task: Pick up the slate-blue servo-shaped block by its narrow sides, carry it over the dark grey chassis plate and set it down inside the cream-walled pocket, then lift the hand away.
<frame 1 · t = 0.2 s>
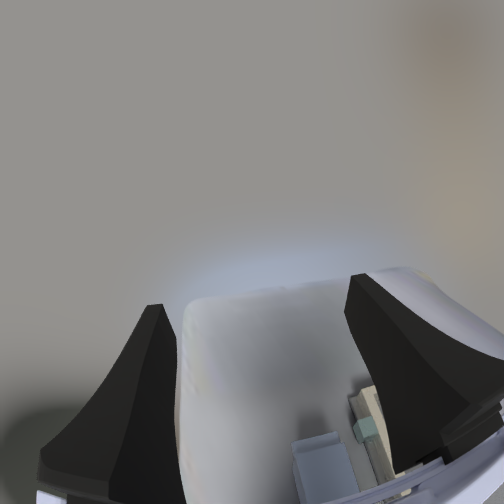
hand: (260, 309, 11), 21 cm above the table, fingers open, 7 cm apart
chassis: (416, 440, 21), on the table
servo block: (320, 493, 19), on the table
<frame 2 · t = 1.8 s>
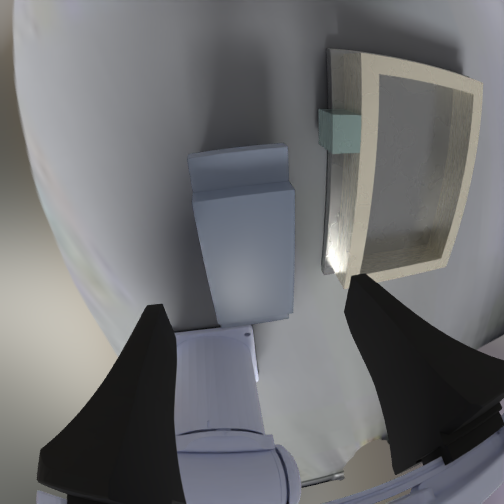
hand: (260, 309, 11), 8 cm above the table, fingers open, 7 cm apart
chassis: (401, 169, 17), on the table
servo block: (239, 211, 17), on the table
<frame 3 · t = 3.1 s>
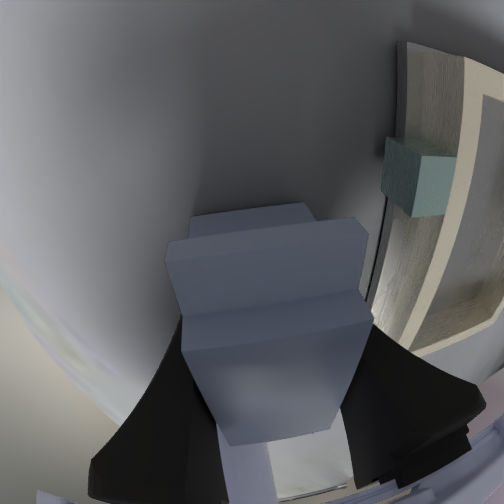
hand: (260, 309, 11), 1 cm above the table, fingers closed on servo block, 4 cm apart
chassis: (467, 217, 11), on the table
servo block: (255, 285, 12), on the table, touching gripper
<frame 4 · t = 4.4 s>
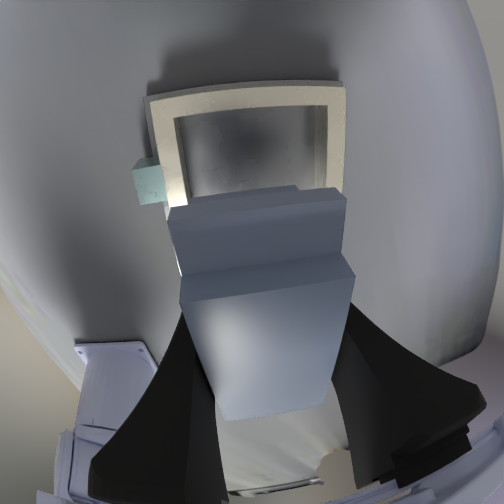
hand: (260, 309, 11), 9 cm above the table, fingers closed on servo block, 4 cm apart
chassis: (253, 201, 18), on the table
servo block: (250, 264, 13), point 6 cm above the table, touching gripper
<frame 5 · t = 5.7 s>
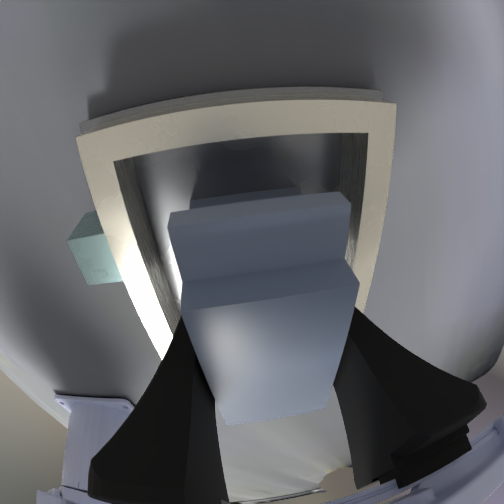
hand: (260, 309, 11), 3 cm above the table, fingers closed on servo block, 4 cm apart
chassis: (250, 263, 13), on the table
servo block: (251, 267, 13), point 1 cm above the table, touching chassis, gripper
when the fingers open (3 cm above the table, at t = 6.1 s): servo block stays where it is, resting on chassis.
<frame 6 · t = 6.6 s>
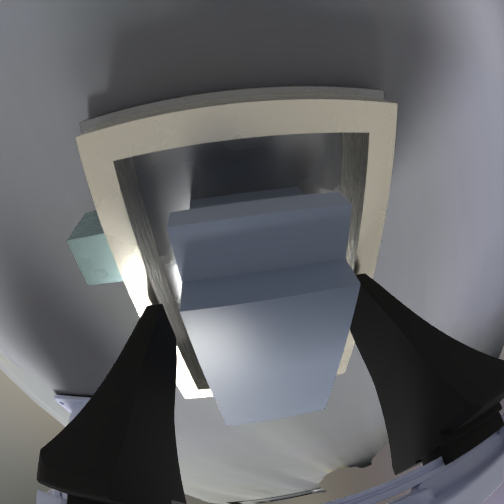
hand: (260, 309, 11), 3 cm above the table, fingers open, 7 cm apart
chassis: (250, 263, 13), on the table
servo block: (251, 267, 13), point 1 cm above the table, touching chassis
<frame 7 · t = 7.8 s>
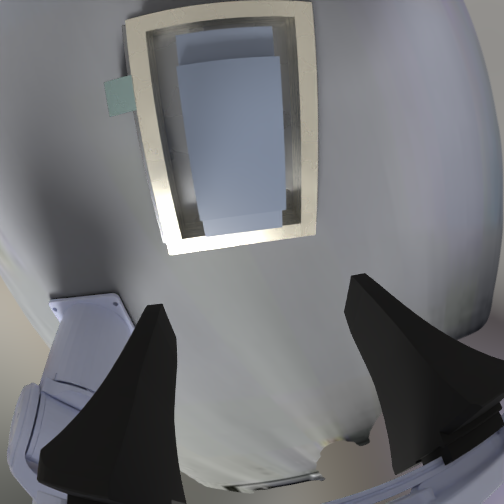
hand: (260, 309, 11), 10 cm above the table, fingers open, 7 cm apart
chassis: (228, 122, 16), on the table
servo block: (228, 120, 16), point 1 cm above the table, touching chassis
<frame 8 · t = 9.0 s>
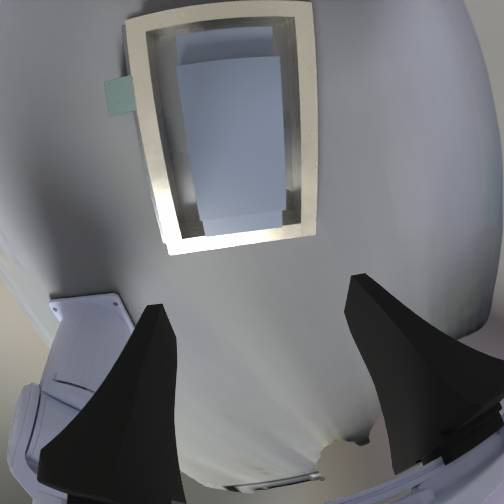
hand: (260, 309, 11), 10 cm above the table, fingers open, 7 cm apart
chassis: (228, 122, 16), on the table
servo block: (228, 120, 16), point 1 cm above the table, touching chassis
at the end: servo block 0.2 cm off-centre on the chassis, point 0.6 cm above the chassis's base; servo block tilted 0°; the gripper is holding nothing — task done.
